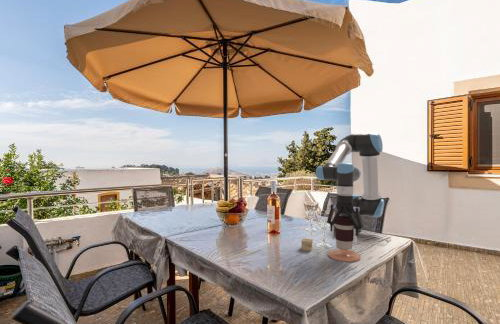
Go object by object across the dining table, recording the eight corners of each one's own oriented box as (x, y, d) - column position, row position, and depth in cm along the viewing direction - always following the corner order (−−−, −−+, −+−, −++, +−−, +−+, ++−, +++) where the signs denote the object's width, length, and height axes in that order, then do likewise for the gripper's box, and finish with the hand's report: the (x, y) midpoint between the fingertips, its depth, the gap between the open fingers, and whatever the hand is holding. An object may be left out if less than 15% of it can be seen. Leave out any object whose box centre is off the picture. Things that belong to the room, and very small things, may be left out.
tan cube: (302, 247, 149) (302, 237, 148) (312, 248, 147) (312, 238, 147) (301, 250, 144) (301, 240, 144) (311, 251, 142) (311, 241, 142)
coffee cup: (341, 251, 129) (341, 219, 129) (329, 245, 138) (330, 215, 138) (359, 250, 131) (359, 218, 131) (346, 244, 141) (347, 214, 141)
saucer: (335, 249, 146) (335, 247, 146) (364, 255, 136) (364, 253, 136) (323, 256, 134) (323, 254, 134) (354, 264, 124) (354, 262, 124)
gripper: (320, 193, 139) (319, 237, 139) (366, 197, 125) (365, 247, 125) (326, 192, 144) (325, 234, 145) (371, 196, 130) (370, 243, 131)
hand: (344, 240), depth 135 cm, fingers closed on coffee cup, 10 cm apart
